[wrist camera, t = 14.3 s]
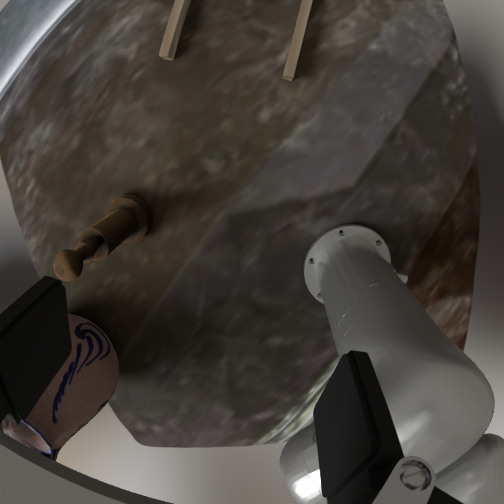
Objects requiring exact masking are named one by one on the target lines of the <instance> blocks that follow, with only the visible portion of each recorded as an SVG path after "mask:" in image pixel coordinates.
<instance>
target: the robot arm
mask: <svg viewBox="0 0 504 504" xmlns="http://www.w3.org/2000/svg"><path fill="white" fill-rule="evenodd" d="M340 230H342V232H341V233H339V231H340ZM377 240H378V242H376V241H377ZM311 258H313V259H312V260H309V259H311ZM304 277H305V282H306V284H307V287H308V289H309V291H310V292H311V294H312V295H313V296H314V297H315V298H316V299H317V300H318V301H320V302H321V303H323V304H324V306H325V309H326V313H327V316H328V320H329V323H330V327H331V330H332V334H333V337H334V341H335V344H336V348H337V352H338V355H339V358H340V361H339V363H338V365H337V367H336V369H335V370H334V372H333V374H332V376H331V378H330V380H329V382H328V384H327V385H326V387H325V389H324V391H323V393H322V394H321V396H320V398H319V400H318V402H317V403H316V405H315V408H314V412H313V417H314V422H313V423H312V424H310V425H308V426H307V427H305V428H304V429H302V430H301V431H300V432H298V433H297V434H296V435H294V436H293V437H292V438H291V439H290V440H289V441H288V442H287V444H286V445H285V447H284V448H283V451H282V453H281V456H280V464H279V466H280V474H281V478H282V481H283V484H284V486H285V488H286V490H287V492H288V493H289V495H290V496H291V498H292V499H293V500H294V502H295V503H296V504H504V439H503V438H501V437H500V436H498V435H494V434H484V433H485V431H486V430H487V428H488V426H489V424H490V422H491V420H492V417H493V413H494V405H495V404H494V403H495V402H494V395H493V391H492V388H491V386H490V384H489V382H488V380H487V379H486V377H485V375H484V374H483V373H482V372H481V370H480V369H479V368H478V367H477V365H476V364H475V363H474V362H473V361H472V360H471V359H470V358H469V357H468V356H467V355H466V354H465V353H464V352H462V351H461V350H460V349H459V348H458V347H457V346H456V345H455V344H454V343H453V342H452V341H451V340H450V339H449V338H448V337H447V336H446V335H445V334H444V333H443V332H442V331H441V330H440V328H439V327H438V326H437V325H436V324H435V322H434V321H433V320H432V319H431V317H430V316H429V315H428V314H427V312H426V311H425V310H424V308H423V307H422V306H421V304H420V303H419V302H418V301H417V299H416V298H415V297H414V296H413V294H412V293H411V292H410V290H409V289H408V288H407V286H406V285H405V283H406V282H407V280H408V276H407V274H403V273H397V272H396V270H395V269H394V268H393V267H392V265H391V257H390V252H389V249H388V246H387V245H386V243H385V241H384V240H383V239H382V238H381V237H380V236H379V235H378V234H377V233H376V232H375V231H374V230H372V229H370V228H368V227H366V226H362V225H359V224H345V225H340V226H337V227H333V228H331V229H330V230H328V231H326V232H324V233H323V234H322V235H321V236H319V237H318V238H317V239H316V240H315V242H314V243H313V244H312V245H311V247H310V249H309V250H308V252H307V255H306V258H305V262H304ZM319 293H320V294H319ZM71 351H72V343H71V336H70V328H69V320H68V311H67V301H66V290H65V287H64V286H63V285H62V282H61V281H60V280H58V279H55V278H52V277H49V276H45V277H43V278H42V279H41V280H40V281H38V282H37V283H36V284H35V285H34V286H32V287H31V288H30V289H29V290H28V291H26V292H25V293H24V294H23V295H22V296H21V297H19V298H18V299H17V300H16V301H15V302H14V303H12V304H11V305H10V306H9V307H8V308H7V309H6V310H5V311H3V312H2V313H1V314H0V504H173V503H169V502H165V501H161V500H157V499H153V498H149V497H146V496H143V495H139V494H136V493H133V492H130V491H127V490H124V489H121V488H118V487H115V486H112V485H109V484H107V483H104V482H102V481H99V480H97V479H94V478H91V477H89V476H87V475H84V474H82V473H79V472H77V471H75V470H73V469H70V468H68V467H66V466H64V465H62V464H60V463H58V462H56V461H53V460H51V459H49V458H47V457H45V456H44V455H42V454H40V453H38V452H36V451H34V450H32V449H30V448H29V447H27V446H25V445H23V444H22V443H20V442H18V441H17V440H15V439H13V438H12V437H10V436H8V435H6V434H5V433H4V431H3V425H2V421H3V420H4V418H6V419H7V420H9V421H11V422H12V423H14V424H16V425H17V426H18V425H19V423H20V421H21V420H25V419H26V418H27V417H28V415H29V414H30V412H31V411H32V409H33V408H34V406H35V405H36V403H37V402H38V400H39V399H40V397H41V396H42V394H43V393H44V391H45V390H46V388H47V387H48V386H49V384H50V383H51V381H52V380H53V378H54V377H55V375H56V374H57V373H58V371H59V370H60V368H61V367H62V366H63V364H64V363H65V361H66V360H67V359H68V357H69V356H70V354H71Z"/></svg>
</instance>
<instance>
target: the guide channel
mask: <svg viewBox="0 0 504 504" xmlns="http://www.w3.org/2000/svg"><path fill="white" fill-rule="evenodd" d="M312 1H313V0H302V2H301V6H300V10H299V14H298V18H297V22H296V26H295V30H294V34H293V37H292V41H291V45H290V49H289V53H288V57H287V61H286V65H285V69H284V73H283V77H282V79H286V80H290V81H292V79H293V77H294V73H295V69H296V65H297V61H298V57H299V53H300V49H301V45H302V41H303V37H304V33H305V29H306V25H307V21H308V17H309V13H310V9H311V5H312ZM190 2H191V0H175V2H174V5H173V8H172V12H171V15H170V18H169V21H168V24H167V28H166V31H165V35H164V38H163V42H162V45H161V49H160V53H159V56H160V57H161V58H163V59H165V60H174V56H175V53H176V49H177V45H178V42H179V38H180V35H181V31H182V28H183V24H184V21H185V18H186V15H187V11H188V8H189V5H190Z"/></svg>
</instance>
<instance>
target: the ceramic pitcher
mask: <svg viewBox="0 0 504 504" xmlns="http://www.w3.org/2000/svg"><path fill="white" fill-rule="evenodd" d="M68 320H69V328H70V336H71V343H72V351H71V354H70V356H69V357H68V359H67V360H66V361H65V363H64V364H63V366H62V367H61V368H60V370H59V371H58V373H57V374H56V375H55V377H54V378H53V380H52V381H51V383H50V384H49V386H48V387H47V388H46V390H45V391H44V393H43V394H42V396H41V397H40V399H39V400H38V402H37V403H36V405H35V406H34V408H33V409H32V411H31V412H30V414H29V415H28V417H27V418H26V419H25V420H21V421H20V423H19V425H18V426H17V425H16V424H14V423H12V422H11V421H9V420H7V419H6V418H4V420H3V421H2V425H3V431H4V433H5V434H6V435H8V436H10V437H12V438H13V439H15V440H17V441H18V442H20V443H22V444H23V445H25V446H27V447H29V448H30V449H32V450H34V451H36V452H38V453H40V454H42V455H44V456H45V457H47V458H49V459H51V460H53V461H56V459H57V455H58V452H59V451H60V449H61V448H62V446H63V445H64V444H65V443H66V442H67V441H68V440H69V439H70V438H71V437H72V436H73V435H75V433H77V432H78V431H79V430H80V429H81V428H82V427H84V426H85V425H86V424H87V423H88V422H89V421H90V420H91V419H92V418H93V417H94V416H95V415H96V414H97V413H98V412H100V410H101V409H102V408H103V407H104V406H105V405H106V404H107V402H108V401H109V400H110V398H111V397H112V395H113V393H114V391H115V389H116V386H117V382H118V377H119V363H118V358H117V354H116V351H115V350H114V348H113V346H112V343H111V341H110V340H109V338H108V337H107V335H106V334H105V333H104V332H103V331H102V330H101V329H100V328H99V327H98V326H97V325H95V324H94V323H92V322H91V321H89V320H87V319H85V318H83V317H80V316H76V315H73V314H68Z"/></svg>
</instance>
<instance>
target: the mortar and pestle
mask: <svg viewBox="0 0 504 504" xmlns="http://www.w3.org/2000/svg"><path fill="white" fill-rule="evenodd" d="M151 226H152V212H151V209H150V207H149V206H148V204H147V203H146V202H145V201H144V200H143V199H141V198H140V197H138V196H136V195H132V194H126V195H122V196H120V197H118V198H117V199H115V200H113V201H112V202H111V203H110V204H109V205H108V207H107V209H106V211H105V218H103V219H102V220H100V221H98V222H97V223H95V224H94V225H92V226H91V227H89V228H87V229H86V230H84V231H83V233H82V234H81V236H80V243H78V244H77V245H76V246H75V249H74V250H63V251H61V252H59V253H58V254H57V256H56V257H55V259H54V263H53V268H54V272H55V274H56V275H57V277H58V278H60V279H61V280H63V281H73V280H75V279H76V278H78V277H79V275H80V274H81V272H82V268H83V263H89V262H90V261H91V260H92V261H101V260H103V259H104V258H105V257H107V256H108V255H109V254H110V253H111V252H112V251H113V250H114V249H115V248H116V247H118V246H119V245H120V244H121V243H125V244H132V243H136V242H138V241H140V240H141V239H142V238H143V237H144V236H145V235H146V234H147V233H148V232H149V231H150V229H151Z"/></svg>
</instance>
